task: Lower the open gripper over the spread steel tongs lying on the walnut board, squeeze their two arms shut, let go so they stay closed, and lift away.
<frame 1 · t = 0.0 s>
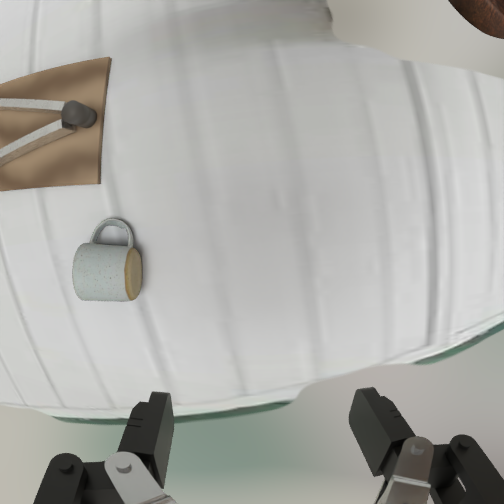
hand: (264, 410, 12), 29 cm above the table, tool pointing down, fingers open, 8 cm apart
ceramic mug: (115, 256, 39), on the table
walnut board: (17, 132, 34), on the table
tongs arm 2: (6, 157, 32), point 3 cm above the table, hinge at 13.0°
tongs arm 1: (11, 102, 30), point 3 cm above the table, hinge at 13.0°
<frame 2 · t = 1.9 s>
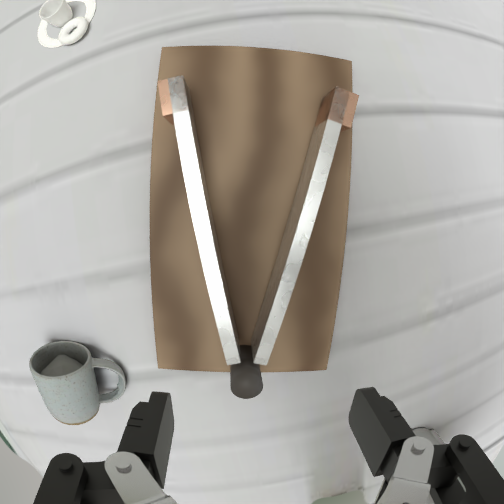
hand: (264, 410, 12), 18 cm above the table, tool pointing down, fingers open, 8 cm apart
teacup and saucer: (54, 42, 23), on the table
ceramic mug: (87, 366, 31), on the table
walnut board: (249, 215, 28), on the table
tongs arm 2: (199, 225, 25), point 3 cm above the table, hinge at 13.0°
tongs arm 1: (302, 229, 25), point 3 cm above the table, hinge at 13.0°
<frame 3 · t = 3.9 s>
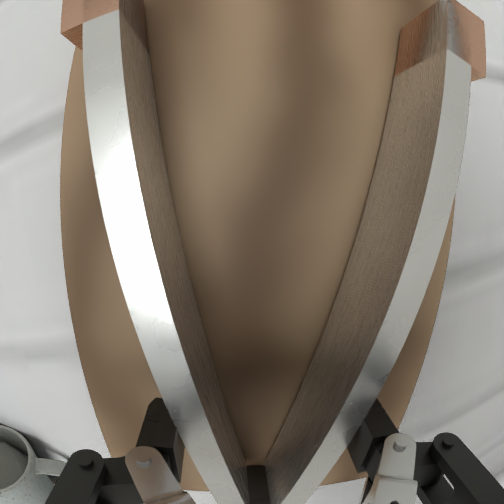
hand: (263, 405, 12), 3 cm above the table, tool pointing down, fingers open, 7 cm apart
ceramic mug: (38, 457, 16), on the table
walnut board: (266, 255, 13), on the table
tongs arm 2: (153, 291, 10), point 3 cm above the table, hinge at 12.8°, touching gripper
tongs arm 1: (385, 293, 11), point 3 cm above the table, hinge at 12.7°, touching gripper
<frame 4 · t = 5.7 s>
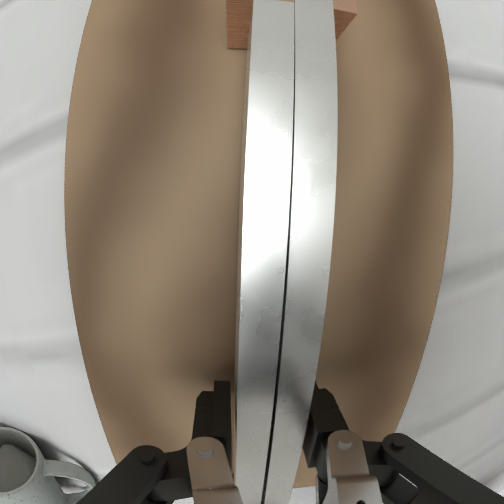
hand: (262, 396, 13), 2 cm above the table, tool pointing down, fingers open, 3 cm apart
ceramic mug: (45, 458, 17), on the table
walnut board: (265, 259, 14), on the table
tongs arm 2: (244, 280, 11), point 3 cm above the table, hinge at -0.1°, touching tongs arm 1
tongs arm 1: (304, 281, 11), point 3 cm above the table, hinge at -0.4°, touching tongs arm 2
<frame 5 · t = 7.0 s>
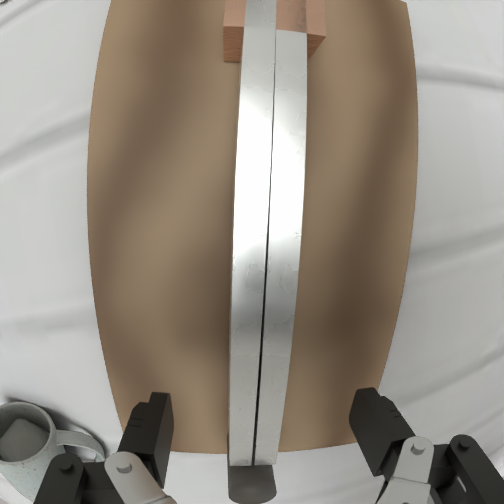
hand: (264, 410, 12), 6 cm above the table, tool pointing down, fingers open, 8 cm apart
ceramic mug: (56, 432, 20), on the table
walnut board: (255, 234, 17), on the table
tongs arm 2: (236, 247, 13), point 3 cm above the table, hinge at -0.1°, touching tongs arm 1
tongs arm 1: (284, 248, 14), point 3 cm above the table, hinge at -0.4°, touching tongs arm 2
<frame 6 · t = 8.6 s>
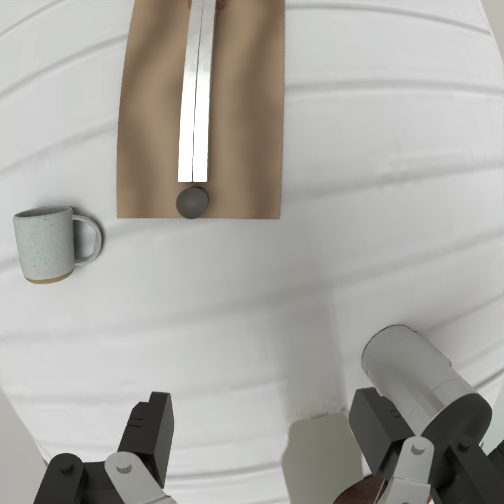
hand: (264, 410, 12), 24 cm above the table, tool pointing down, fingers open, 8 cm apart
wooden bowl: (371, 490, 53), on the table
ceramic mug: (68, 234, 33), on the table
walnut board: (201, 76, 30), on the table
tongs arm 2: (189, 67, 27), point 3 cm above the table, hinge at -0.1°, touching tongs arm 1
tongs arm 1: (209, 67, 27), point 3 cm above the table, hinge at -0.4°, touching tongs arm 2
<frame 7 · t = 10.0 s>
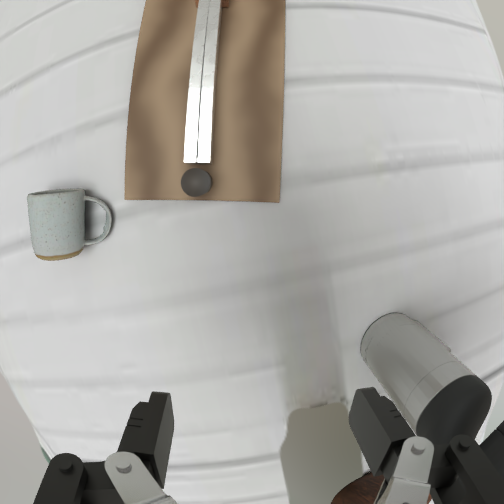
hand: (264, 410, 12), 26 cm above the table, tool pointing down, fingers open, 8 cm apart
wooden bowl: (371, 488, 52), on the table
ceramic mug: (79, 216, 35), on the table
walnut board: (207, 69, 32), on the table
tongs arm 2: (195, 60, 29), point 3 cm above the table, hinge at -0.1°, touching tongs arm 1
tongs arm 1: (214, 59, 29), point 3 cm above the table, hinge at -0.4°, touching tongs arm 2
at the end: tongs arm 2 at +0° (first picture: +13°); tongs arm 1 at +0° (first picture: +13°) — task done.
